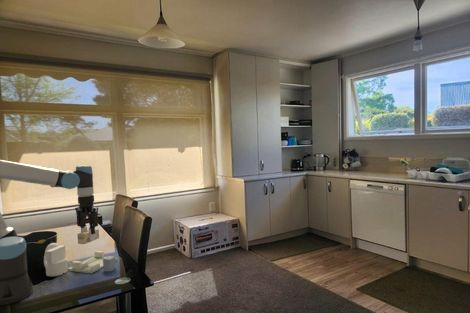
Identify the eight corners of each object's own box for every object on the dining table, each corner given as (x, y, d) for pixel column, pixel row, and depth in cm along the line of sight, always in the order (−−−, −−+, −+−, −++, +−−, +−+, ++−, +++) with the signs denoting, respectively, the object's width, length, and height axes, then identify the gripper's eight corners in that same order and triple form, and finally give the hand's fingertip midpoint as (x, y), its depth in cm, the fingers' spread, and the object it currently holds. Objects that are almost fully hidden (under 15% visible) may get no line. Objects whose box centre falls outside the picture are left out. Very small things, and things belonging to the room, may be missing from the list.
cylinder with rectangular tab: (57, 276, 142) (55, 251, 141) (41, 275, 144) (40, 251, 143) (71, 269, 150) (70, 245, 150) (56, 268, 152) (55, 245, 152)
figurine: (53, 268, 152) (52, 245, 151) (40, 268, 153) (39, 245, 153) (64, 263, 159) (62, 241, 158) (51, 262, 160) (50, 240, 160)
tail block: (110, 271, 145) (109, 259, 145) (103, 271, 147) (102, 258, 147) (115, 268, 149) (115, 256, 149) (109, 267, 150) (108, 256, 150)
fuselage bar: (84, 244, 150) (83, 234, 150) (78, 243, 151) (77, 234, 151) (99, 238, 159) (98, 228, 159) (93, 237, 161) (92, 228, 160)
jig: (91, 273, 144) (91, 265, 144) (67, 270, 149) (67, 262, 149) (117, 259, 161) (116, 252, 161) (95, 257, 166) (94, 250, 166)
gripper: (104, 194, 155) (107, 238, 156) (79, 193, 161) (82, 236, 162) (92, 196, 148) (95, 243, 149) (67, 196, 154) (70, 241, 155)
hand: (88, 239), depth 155 cm, fingers closed on fuselage bar, 4 cm apart
